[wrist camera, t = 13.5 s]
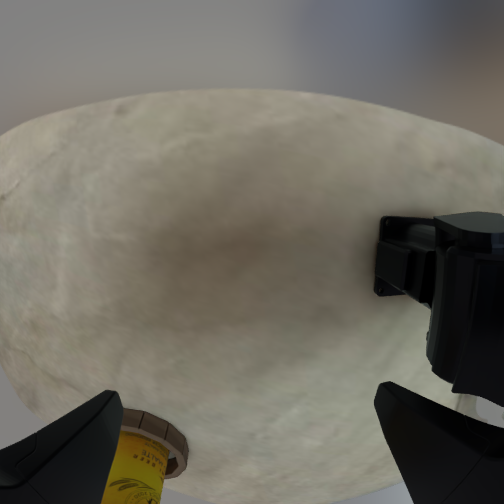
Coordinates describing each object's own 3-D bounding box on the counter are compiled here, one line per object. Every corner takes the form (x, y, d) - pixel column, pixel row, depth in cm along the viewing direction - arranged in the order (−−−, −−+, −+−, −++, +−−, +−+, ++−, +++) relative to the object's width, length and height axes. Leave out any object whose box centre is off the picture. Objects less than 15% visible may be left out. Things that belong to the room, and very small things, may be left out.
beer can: (180, 453, 25) (165, 564, 10) (136, 456, 25) (109, 554, 10) (153, 419, 23) (119, 544, 9) (107, 423, 23) (64, 528, 9)
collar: (180, 414, 23) (176, 432, 21) (192, 467, 25) (191, 483, 23) (90, 402, 23) (81, 416, 20) (115, 456, 25) (110, 470, 22)
